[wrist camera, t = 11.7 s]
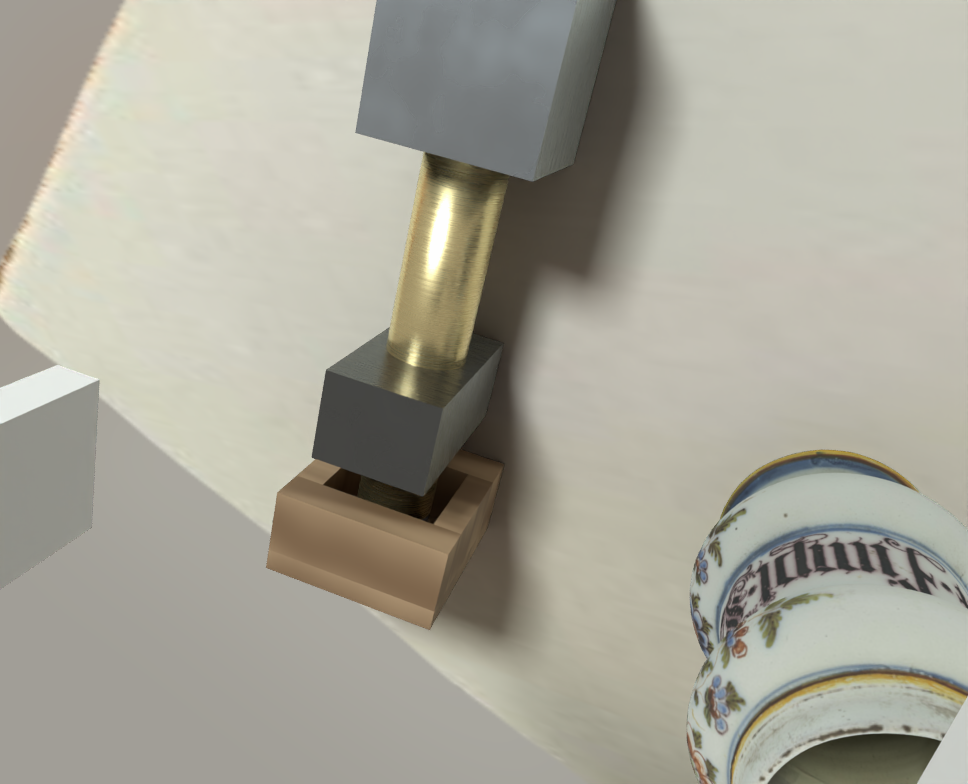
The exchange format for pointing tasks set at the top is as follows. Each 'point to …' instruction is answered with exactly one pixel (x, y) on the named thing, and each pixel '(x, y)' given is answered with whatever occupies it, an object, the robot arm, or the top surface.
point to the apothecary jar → (827, 627)
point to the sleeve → (484, 79)
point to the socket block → (382, 537)
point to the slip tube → (421, 349)
